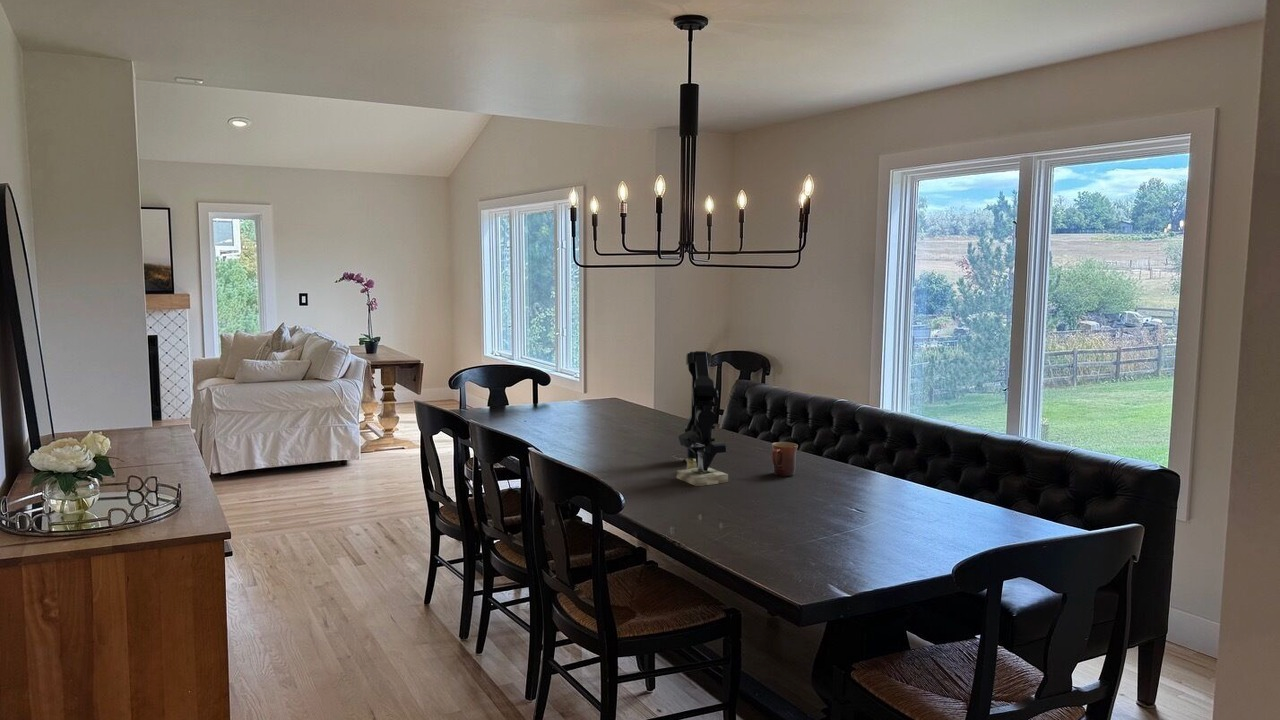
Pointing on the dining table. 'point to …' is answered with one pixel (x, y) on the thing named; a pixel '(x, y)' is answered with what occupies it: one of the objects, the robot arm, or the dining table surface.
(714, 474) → the socket board
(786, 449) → the mug
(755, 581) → the dining table surface
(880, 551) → the dining table surface
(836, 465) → the dining table surface
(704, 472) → the long pin
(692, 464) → the short pin
